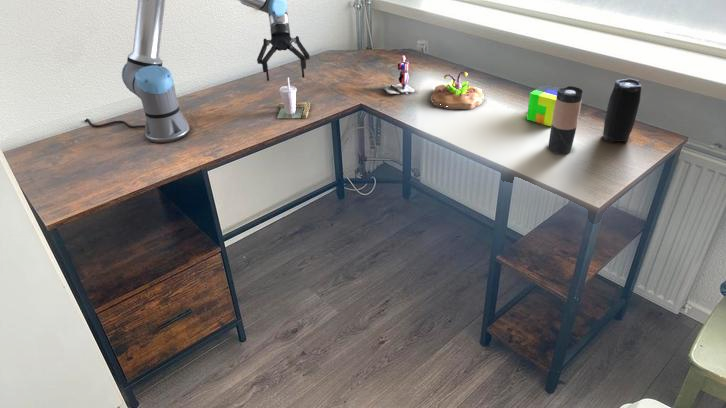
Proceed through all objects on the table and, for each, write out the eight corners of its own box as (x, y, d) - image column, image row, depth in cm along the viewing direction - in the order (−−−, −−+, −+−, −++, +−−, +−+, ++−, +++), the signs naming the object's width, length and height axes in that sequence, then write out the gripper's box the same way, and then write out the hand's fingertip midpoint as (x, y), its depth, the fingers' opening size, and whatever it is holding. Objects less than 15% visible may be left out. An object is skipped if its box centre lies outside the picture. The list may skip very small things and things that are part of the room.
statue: (405, 87, 229) (409, 51, 222) (414, 95, 222) (419, 58, 214) (381, 89, 225) (384, 52, 218) (390, 97, 218) (393, 59, 210)
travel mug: (568, 156, 175) (580, 97, 164) (544, 150, 178) (554, 92, 167) (574, 146, 180) (586, 88, 169) (551, 141, 184) (561, 84, 172)
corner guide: (274, 118, 205) (274, 115, 205) (279, 106, 215) (279, 102, 214) (306, 118, 205) (306, 114, 204) (310, 105, 214) (310, 102, 213)
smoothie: (296, 116, 206) (292, 81, 198) (279, 115, 207) (275, 80, 199) (301, 109, 211) (297, 74, 203) (285, 108, 212) (280, 74, 204)
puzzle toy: (565, 117, 198) (570, 91, 193) (552, 126, 192) (557, 100, 187) (540, 110, 204) (544, 84, 198) (526, 119, 198) (530, 93, 193)
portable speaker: (595, 138, 184) (608, 82, 173) (611, 129, 189) (624, 75, 178) (619, 147, 179) (634, 90, 168) (634, 138, 184) (649, 82, 173)
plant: (478, 112, 204) (481, 83, 198) (426, 106, 210) (427, 78, 203) (486, 92, 220) (489, 64, 214) (438, 87, 225) (439, 60, 219)
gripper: (246, 25, 211) (252, 76, 207) (311, 20, 214) (318, 70, 210) (248, 34, 218) (254, 84, 214) (311, 29, 221) (317, 79, 217)
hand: (285, 77), depth 212 cm, fingers open, 13 cm apart
